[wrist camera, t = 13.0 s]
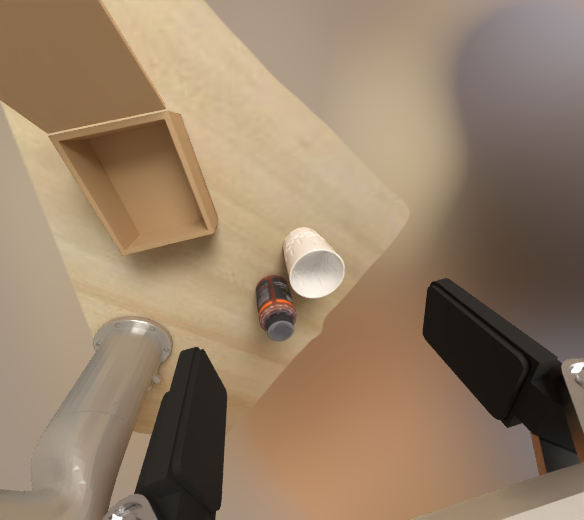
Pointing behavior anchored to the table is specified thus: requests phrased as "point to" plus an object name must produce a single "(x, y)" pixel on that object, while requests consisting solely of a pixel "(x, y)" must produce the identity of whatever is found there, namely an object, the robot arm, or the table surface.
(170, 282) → the table surface
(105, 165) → the carton
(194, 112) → the table surface
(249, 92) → the table surface
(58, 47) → the cardboard box lid
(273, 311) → the supplement bottle
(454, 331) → the robot arm
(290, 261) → the white cup
